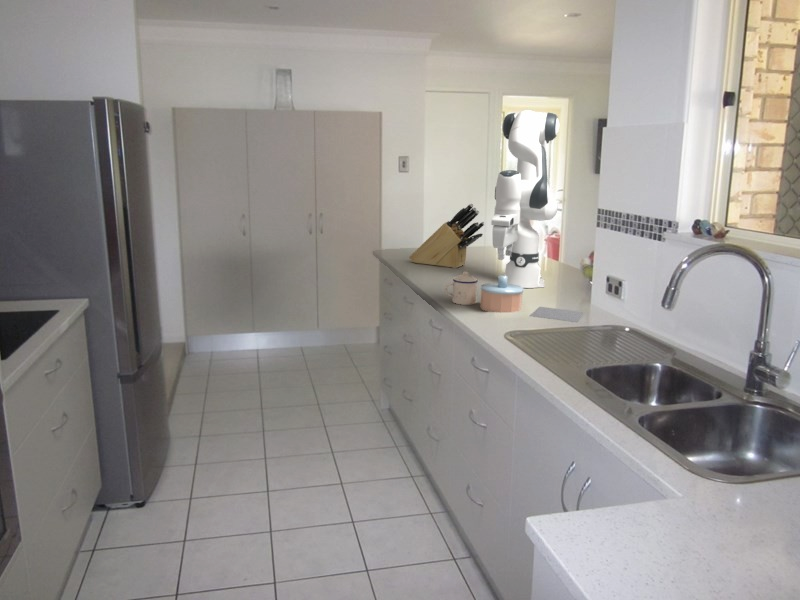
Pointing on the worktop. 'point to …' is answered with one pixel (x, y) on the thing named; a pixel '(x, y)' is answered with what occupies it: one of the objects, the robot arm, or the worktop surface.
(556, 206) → the robot arm
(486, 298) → the bowl
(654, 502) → the worktop surface
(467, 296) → the teacup with lid
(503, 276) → the lid
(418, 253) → the knife block
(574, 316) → the mat
